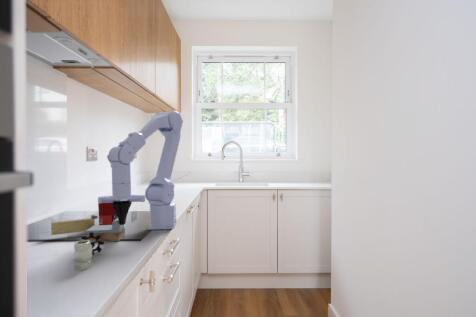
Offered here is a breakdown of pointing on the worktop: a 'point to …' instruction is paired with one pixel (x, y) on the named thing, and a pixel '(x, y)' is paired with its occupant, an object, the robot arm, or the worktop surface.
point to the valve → (86, 251)
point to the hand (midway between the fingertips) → (122, 224)
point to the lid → (106, 228)
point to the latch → (72, 225)
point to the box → (109, 236)
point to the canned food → (106, 213)
